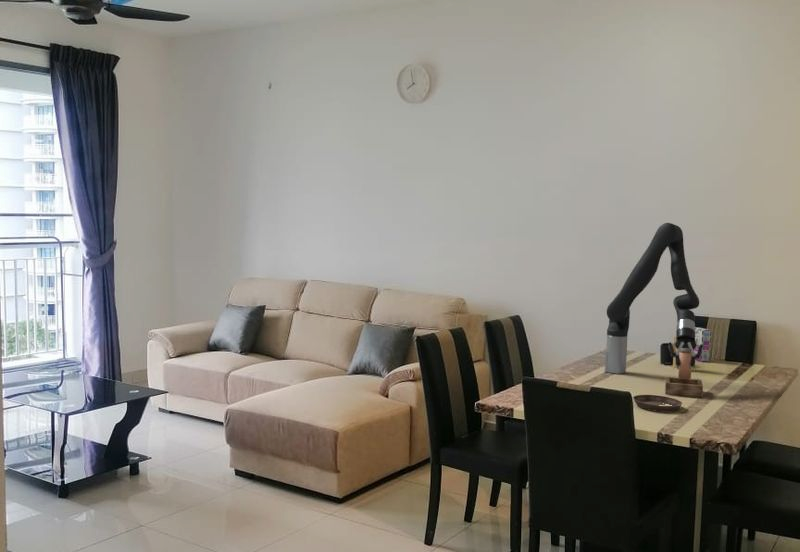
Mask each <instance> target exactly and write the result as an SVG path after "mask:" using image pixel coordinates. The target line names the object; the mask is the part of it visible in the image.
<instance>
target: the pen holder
mask: <svg viewBox="0 0 800 552" xmlns="http://www.w3.org/2000/svg"><path fill="white" fill-rule="evenodd" d="M668 346H669V342H663V343H661V344H660V346H659V347H660V349H659V350H660V354H659V355H660V357H659V358H660V361H659V362H660V365H662V364H664V365H663V366H667V365H673V357H671V354H670V350H669V347H668ZM673 349H674V348H673Z"/></svg>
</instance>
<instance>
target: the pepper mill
mask: <svg viewBox="0 0 800 552" xmlns="http://www.w3.org/2000/svg"><path fill="white" fill-rule="evenodd" d="M691 360H692V353H691V349H689V348H680V352H679V369H678V377H677V378H682V379H692V371H691Z"/></svg>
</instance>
